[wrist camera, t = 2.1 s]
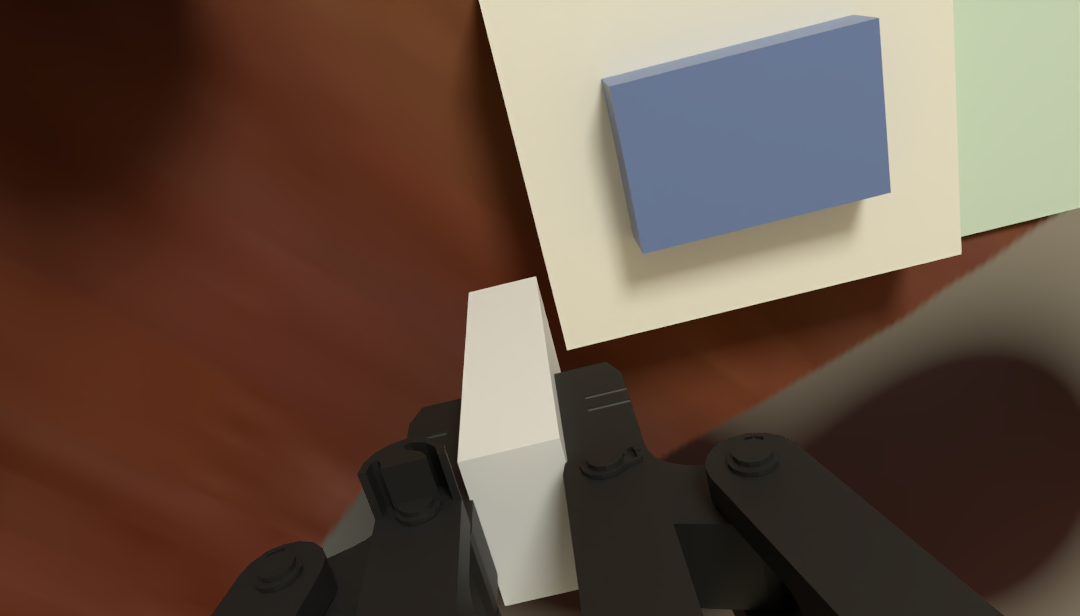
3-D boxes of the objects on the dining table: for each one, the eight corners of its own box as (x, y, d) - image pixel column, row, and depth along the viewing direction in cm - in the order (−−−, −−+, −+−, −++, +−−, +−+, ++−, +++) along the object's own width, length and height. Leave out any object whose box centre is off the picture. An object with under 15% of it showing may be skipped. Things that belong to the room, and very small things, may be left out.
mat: (913, 245, 36) (916, 247, 36) (890, -156, 30) (894, -157, 29) (1182, 179, 36) (1187, 181, 35) (1216, -241, 29) (1223, -243, 29)
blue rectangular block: (633, 237, 31) (642, 254, 29) (601, 78, 28) (609, 86, 27) (866, 179, 30) (890, 192, 29) (853, 14, 28) (879, 17, 26)
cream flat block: (558, 311, 36) (567, 350, 32) (476, -17, 31) (474, -16, 27) (912, 224, 36) (961, 253, 32) (891, -126, 30) (948, -139, 26)
